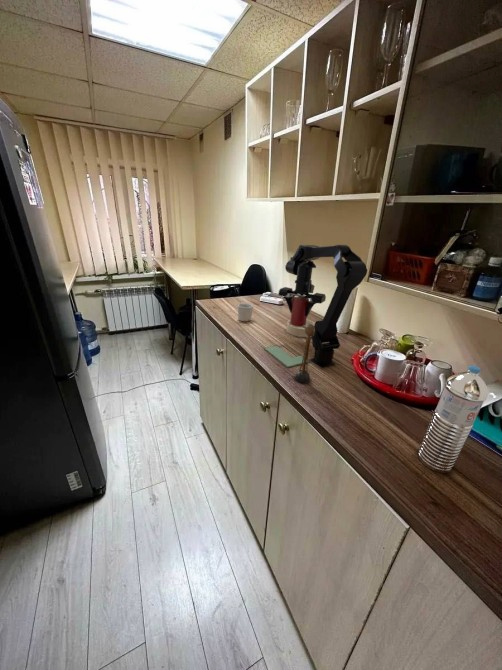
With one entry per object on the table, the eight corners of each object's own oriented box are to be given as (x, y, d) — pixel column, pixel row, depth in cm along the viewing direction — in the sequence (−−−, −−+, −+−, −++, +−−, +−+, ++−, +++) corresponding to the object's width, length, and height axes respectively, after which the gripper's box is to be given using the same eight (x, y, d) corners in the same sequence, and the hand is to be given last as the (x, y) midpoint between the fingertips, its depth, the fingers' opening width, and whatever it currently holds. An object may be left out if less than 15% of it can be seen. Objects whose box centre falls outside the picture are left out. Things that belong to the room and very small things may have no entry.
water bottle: (438, 450, 66) (477, 359, 56) (458, 474, 60) (507, 377, 50) (410, 449, 66) (446, 358, 56) (428, 474, 59) (472, 376, 50)
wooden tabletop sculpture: (291, 374, 94) (298, 320, 86) (303, 373, 96) (311, 319, 88) (299, 384, 89) (308, 327, 81) (311, 382, 91) (321, 326, 83)
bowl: (322, 335, 128) (323, 327, 127) (298, 340, 122) (299, 331, 120) (303, 325, 140) (304, 317, 138) (280, 329, 133) (281, 320, 131)
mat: (309, 362, 103) (309, 361, 103) (287, 367, 99) (287, 366, 99) (284, 345, 116) (284, 344, 116) (264, 349, 112) (264, 348, 111)
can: (308, 325, 115) (312, 300, 111) (296, 327, 112) (299, 301, 108) (299, 320, 121) (302, 296, 117) (287, 322, 118) (289, 297, 114)
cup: (232, 316, 145) (233, 301, 142) (246, 315, 149) (247, 300, 145) (240, 323, 136) (241, 308, 133) (254, 321, 140) (255, 306, 137)
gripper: (332, 278, 111) (326, 314, 117) (290, 272, 120) (287, 306, 126) (324, 282, 102) (317, 321, 108) (279, 275, 111) (276, 311, 117)
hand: (299, 314), depth 115 cm, fingers closed on can, 6 cm apart
